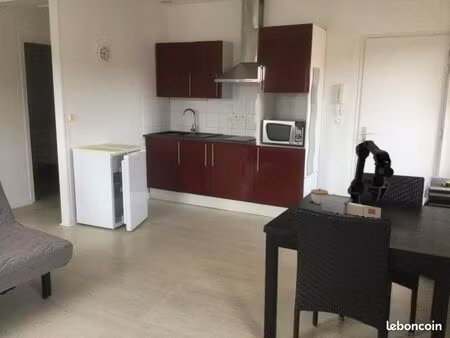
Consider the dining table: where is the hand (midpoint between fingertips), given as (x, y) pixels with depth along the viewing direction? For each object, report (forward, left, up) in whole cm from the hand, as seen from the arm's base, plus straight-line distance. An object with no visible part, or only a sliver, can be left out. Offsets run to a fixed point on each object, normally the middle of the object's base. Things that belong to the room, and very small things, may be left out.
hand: (377, 201), depth 229 cm
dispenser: (0, -24, -10) cm, 26 cm away
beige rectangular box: (0, -8, -10) cm, 13 cm away
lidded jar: (-10, -40, -11) cm, 43 cm away
